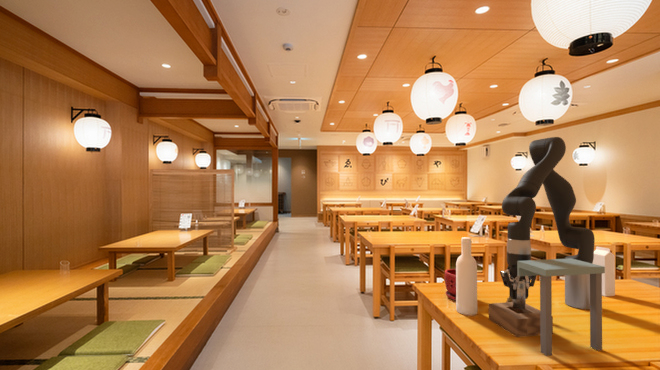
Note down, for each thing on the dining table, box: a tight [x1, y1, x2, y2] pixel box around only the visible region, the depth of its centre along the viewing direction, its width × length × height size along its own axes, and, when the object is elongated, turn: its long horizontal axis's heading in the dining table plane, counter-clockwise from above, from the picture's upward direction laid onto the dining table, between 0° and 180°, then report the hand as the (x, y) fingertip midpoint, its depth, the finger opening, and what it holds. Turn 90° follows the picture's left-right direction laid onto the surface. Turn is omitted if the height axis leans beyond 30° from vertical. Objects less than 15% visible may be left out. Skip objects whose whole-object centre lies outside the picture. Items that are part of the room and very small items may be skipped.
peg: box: [513, 279, 527, 309], centre depth 111 cm, size 4×4×10 cm
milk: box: [592, 246, 616, 297], centre depth 144 cm, size 6×6×22 cm
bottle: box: [455, 236, 478, 316], centre depth 124 cm, size 8×8×30 cm
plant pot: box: [444, 268, 456, 302], centre depth 139 cm, size 13×13×12 cm
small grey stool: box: [517, 258, 605, 357], centre depth 98 cm, size 21×11×26 cm, turn 99°
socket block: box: [488, 301, 554, 338], centre depth 111 cm, size 14×14×6 cm
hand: (518, 298), depth 111 cm, fingers closed on peg, 4 cm apart
